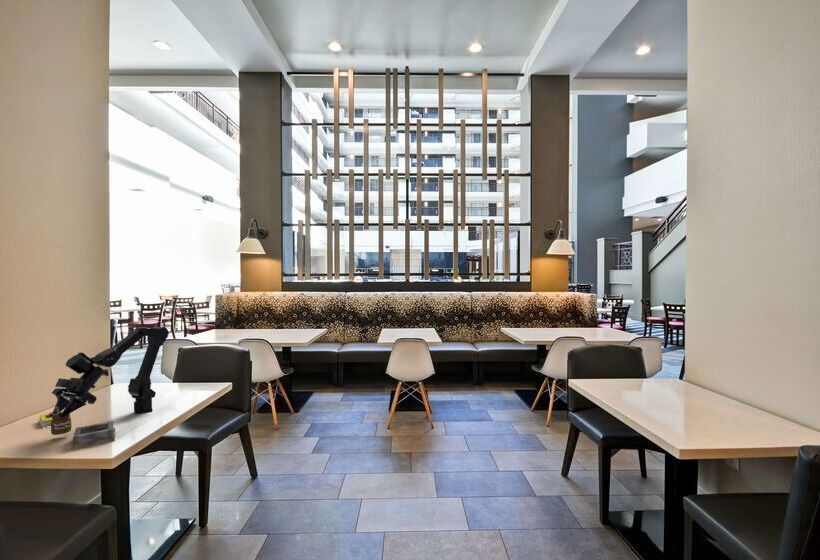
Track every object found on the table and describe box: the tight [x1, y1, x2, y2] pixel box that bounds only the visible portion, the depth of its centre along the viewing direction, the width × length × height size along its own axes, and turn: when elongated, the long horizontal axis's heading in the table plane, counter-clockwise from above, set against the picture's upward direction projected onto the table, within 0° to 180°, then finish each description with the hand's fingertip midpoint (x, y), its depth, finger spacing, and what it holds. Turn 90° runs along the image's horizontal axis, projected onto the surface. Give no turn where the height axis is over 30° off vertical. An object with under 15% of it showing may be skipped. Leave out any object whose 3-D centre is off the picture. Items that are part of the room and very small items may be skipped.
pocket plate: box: [70, 420, 116, 450], centre depth 150 cm, size 12×12×4 cm
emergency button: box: [38, 410, 73, 428], centre depth 170 cm, size 9×4×15 cm
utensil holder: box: [49, 404, 72, 436], centre depth 152 cm, size 6×6×12 cm
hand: (56, 416), depth 151 cm, fingers closed on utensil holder, 5 cm apart
